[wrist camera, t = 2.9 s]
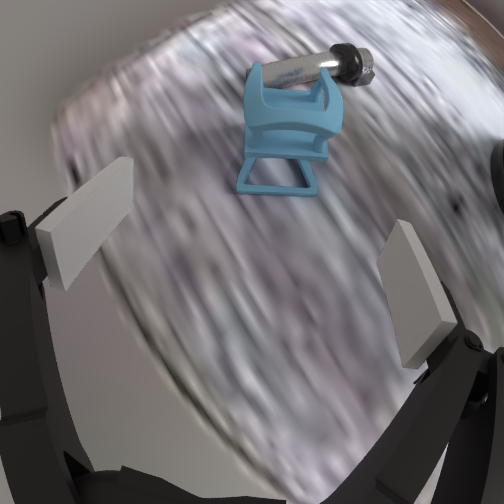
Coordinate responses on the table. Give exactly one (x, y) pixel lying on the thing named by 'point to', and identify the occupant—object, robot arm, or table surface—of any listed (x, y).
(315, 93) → the chair
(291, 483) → the table surface
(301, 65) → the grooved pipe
